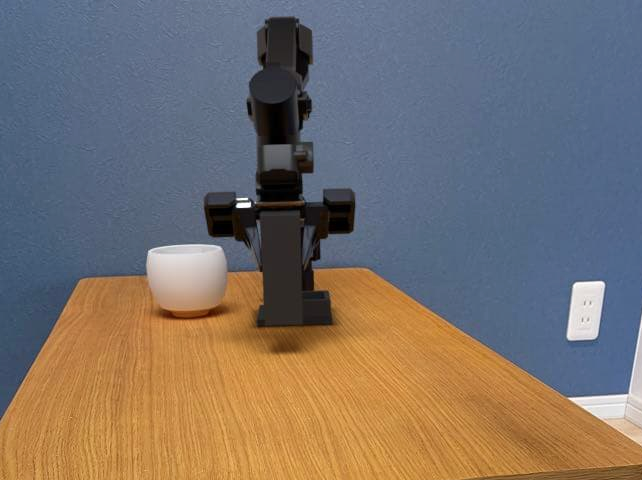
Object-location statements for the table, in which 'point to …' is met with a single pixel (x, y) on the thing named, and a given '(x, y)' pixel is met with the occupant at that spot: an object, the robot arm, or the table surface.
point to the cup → (187, 278)
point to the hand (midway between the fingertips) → (281, 269)
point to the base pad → (309, 309)
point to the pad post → (281, 267)
